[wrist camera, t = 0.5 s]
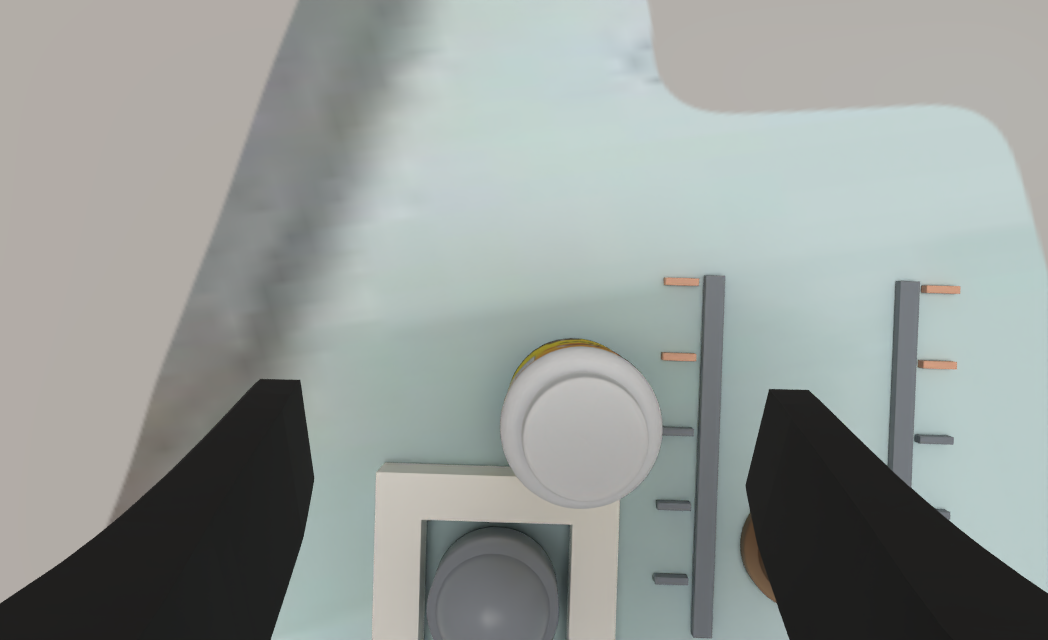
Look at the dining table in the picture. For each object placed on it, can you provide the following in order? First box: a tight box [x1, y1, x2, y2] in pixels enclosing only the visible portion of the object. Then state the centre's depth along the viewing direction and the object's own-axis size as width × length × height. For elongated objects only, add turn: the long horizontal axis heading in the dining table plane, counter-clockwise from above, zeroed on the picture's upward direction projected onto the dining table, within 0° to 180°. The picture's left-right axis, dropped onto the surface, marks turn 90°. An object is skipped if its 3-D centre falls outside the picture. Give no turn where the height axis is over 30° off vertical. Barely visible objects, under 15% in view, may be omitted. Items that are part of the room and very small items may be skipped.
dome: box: [427, 527, 559, 640], centre depth 33 cm, size 5×5×5 cm
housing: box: [372, 463, 620, 640], centre depth 35 cm, size 10×10×2 cm
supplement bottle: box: [500, 338, 662, 509], centre depth 31 cm, size 6×6×10 cm
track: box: [654, 275, 960, 638], centre depth 36 cm, size 16×12×1 cm
